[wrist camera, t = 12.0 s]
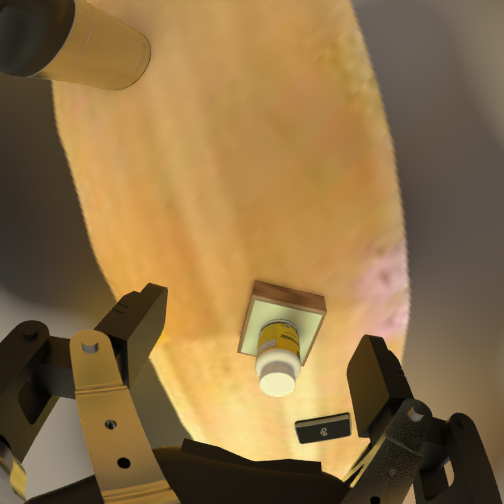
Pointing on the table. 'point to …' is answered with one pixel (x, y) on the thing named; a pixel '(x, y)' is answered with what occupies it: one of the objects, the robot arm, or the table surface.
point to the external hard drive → (323, 428)
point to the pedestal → (282, 316)
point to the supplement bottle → (278, 358)
